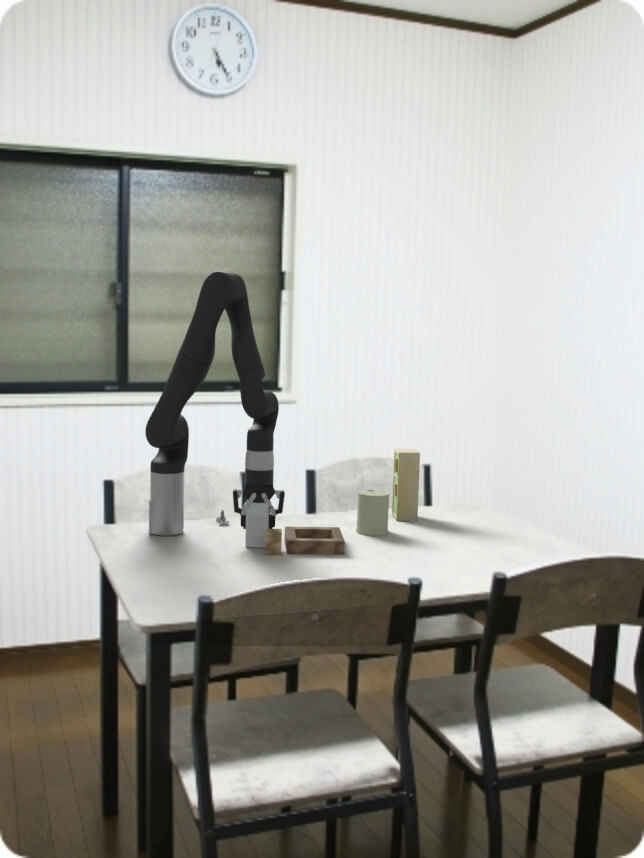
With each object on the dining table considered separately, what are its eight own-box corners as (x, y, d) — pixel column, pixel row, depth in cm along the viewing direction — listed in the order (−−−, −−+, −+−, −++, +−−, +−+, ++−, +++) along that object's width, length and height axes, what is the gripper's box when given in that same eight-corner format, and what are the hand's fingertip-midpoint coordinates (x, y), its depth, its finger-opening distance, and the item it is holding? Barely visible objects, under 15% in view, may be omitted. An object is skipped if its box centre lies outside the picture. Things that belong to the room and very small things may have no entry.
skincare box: (269, 544, 248) (271, 500, 246) (267, 548, 243) (268, 503, 242) (247, 543, 248) (248, 499, 247) (244, 547, 244) (245, 502, 242)
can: (380, 527, 271) (382, 487, 270) (393, 535, 262) (395, 493, 261) (351, 528, 268) (353, 488, 267) (362, 536, 260) (364, 494, 258)
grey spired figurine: (208, 522, 272) (209, 507, 271) (231, 521, 273) (231, 507, 273) (218, 535, 257) (218, 519, 257) (241, 534, 259) (241, 518, 259)
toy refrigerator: (388, 514, 288) (391, 448, 285) (412, 515, 288) (415, 448, 286) (393, 520, 280) (396, 452, 277) (417, 521, 281) (420, 452, 278)
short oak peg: (265, 555, 237) (266, 532, 236) (265, 551, 241) (265, 528, 240) (281, 555, 237) (281, 532, 237) (280, 551, 241) (281, 528, 241)
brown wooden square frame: (286, 553, 239) (287, 540, 239) (284, 538, 254) (284, 526, 253) (344, 554, 240) (344, 541, 240) (338, 539, 255) (339, 527, 255)
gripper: (231, 468, 239) (230, 531, 241) (287, 469, 240) (285, 532, 242) (232, 463, 246) (230, 524, 248) (286, 464, 247) (284, 525, 249)
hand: (257, 528), depth 245 cm, fingers closed on skincare box, 6 cm apart
